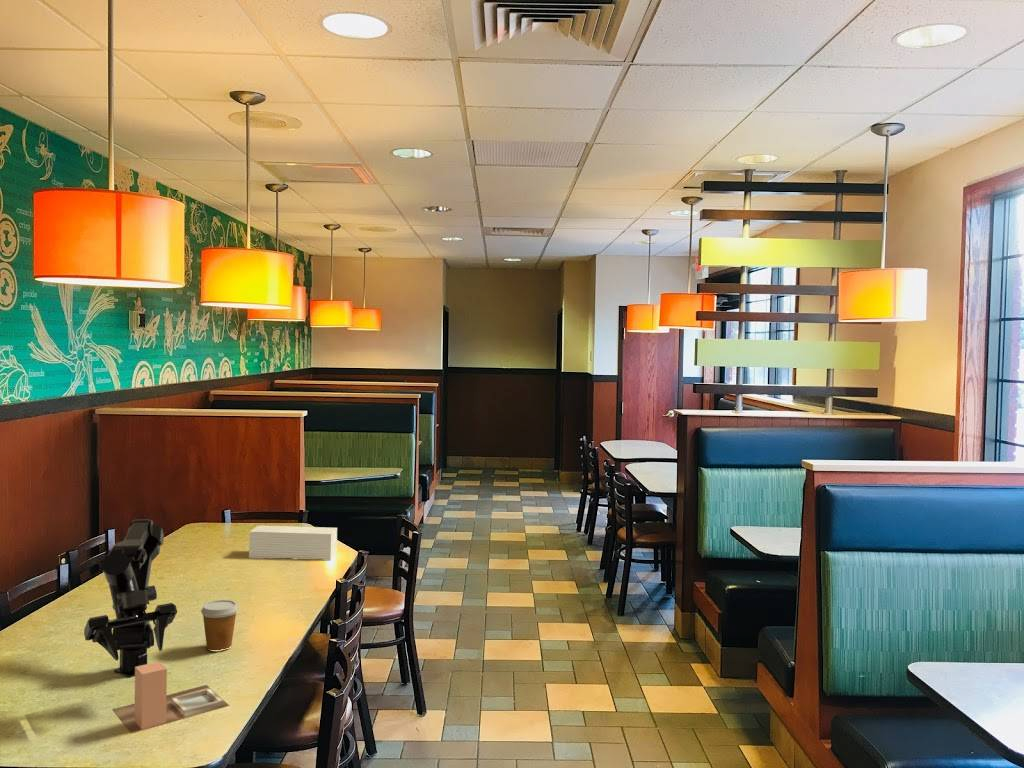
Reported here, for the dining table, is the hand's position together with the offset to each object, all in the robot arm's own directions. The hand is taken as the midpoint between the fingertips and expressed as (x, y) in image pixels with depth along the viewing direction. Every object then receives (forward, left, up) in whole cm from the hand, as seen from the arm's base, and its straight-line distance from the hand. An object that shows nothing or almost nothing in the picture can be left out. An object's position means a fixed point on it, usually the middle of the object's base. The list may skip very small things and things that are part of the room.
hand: (139, 654), depth 176 cm
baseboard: (+5, +4, -13) cm, 15 cm away
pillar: (+7, -3, -12) cm, 15 cm away
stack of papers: (-67, +119, -14) cm, 137 cm away
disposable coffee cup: (-16, +36, -14) cm, 42 cm away
